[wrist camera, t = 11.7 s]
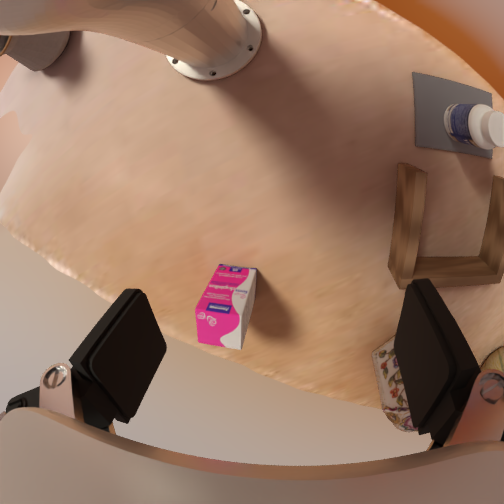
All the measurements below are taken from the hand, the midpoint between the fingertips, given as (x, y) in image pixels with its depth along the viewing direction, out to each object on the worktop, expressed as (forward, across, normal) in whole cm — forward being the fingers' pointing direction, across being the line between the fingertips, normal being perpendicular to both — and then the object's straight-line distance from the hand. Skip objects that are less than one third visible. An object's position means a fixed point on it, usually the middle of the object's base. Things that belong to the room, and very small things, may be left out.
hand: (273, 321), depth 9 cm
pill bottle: (+27, -24, -7) cm, 37 cm away
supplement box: (+28, +9, +16) cm, 33 cm away
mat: (+28, -24, -8) cm, 37 cm away
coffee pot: (+28, +40, -34) cm, 59 cm away
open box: (+27, -23, +7) cm, 37 cm away
